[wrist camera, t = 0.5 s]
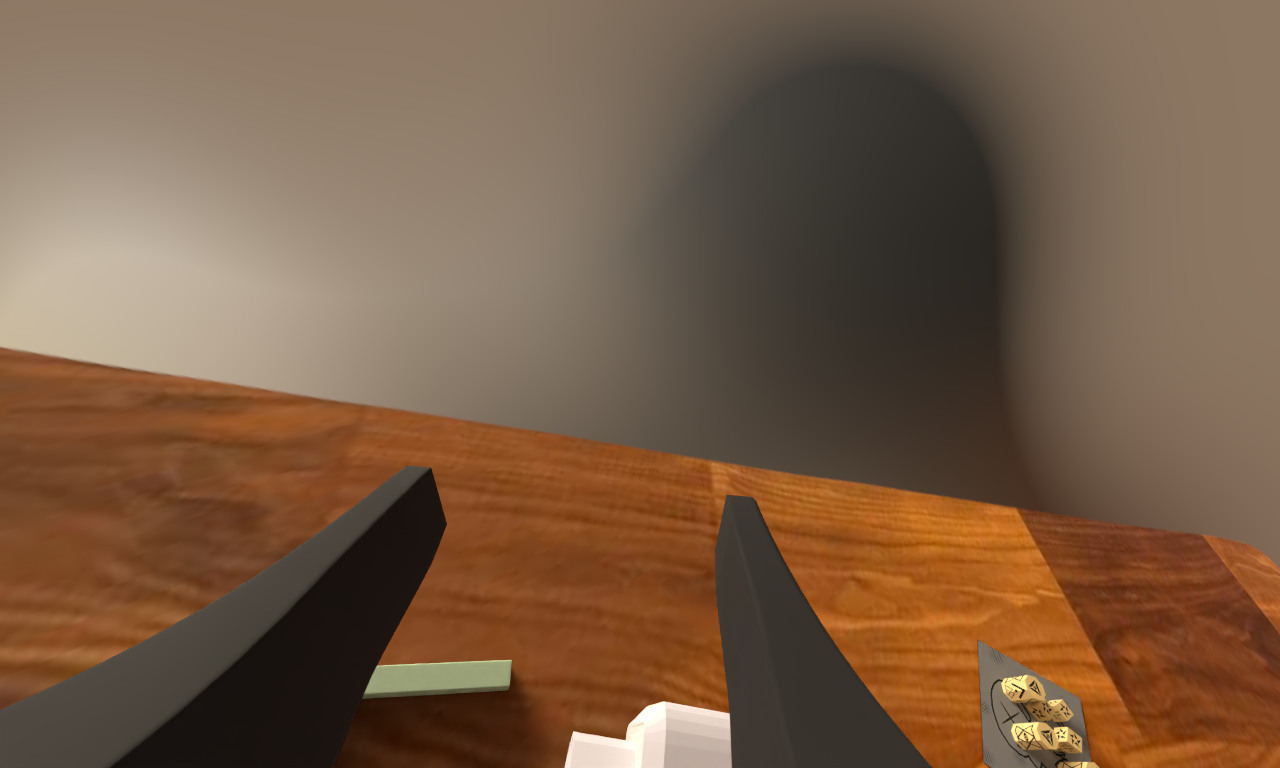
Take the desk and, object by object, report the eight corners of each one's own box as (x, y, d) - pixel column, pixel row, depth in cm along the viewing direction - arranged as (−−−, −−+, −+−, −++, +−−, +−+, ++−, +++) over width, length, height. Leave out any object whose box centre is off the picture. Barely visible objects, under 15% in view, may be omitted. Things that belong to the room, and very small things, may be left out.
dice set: (1081, 795, 30) (1111, 797, 29) (1006, 751, 31) (1032, 750, 29) (1067, 710, 33) (1094, 708, 32) (1000, 671, 34) (1023, 668, 32)
